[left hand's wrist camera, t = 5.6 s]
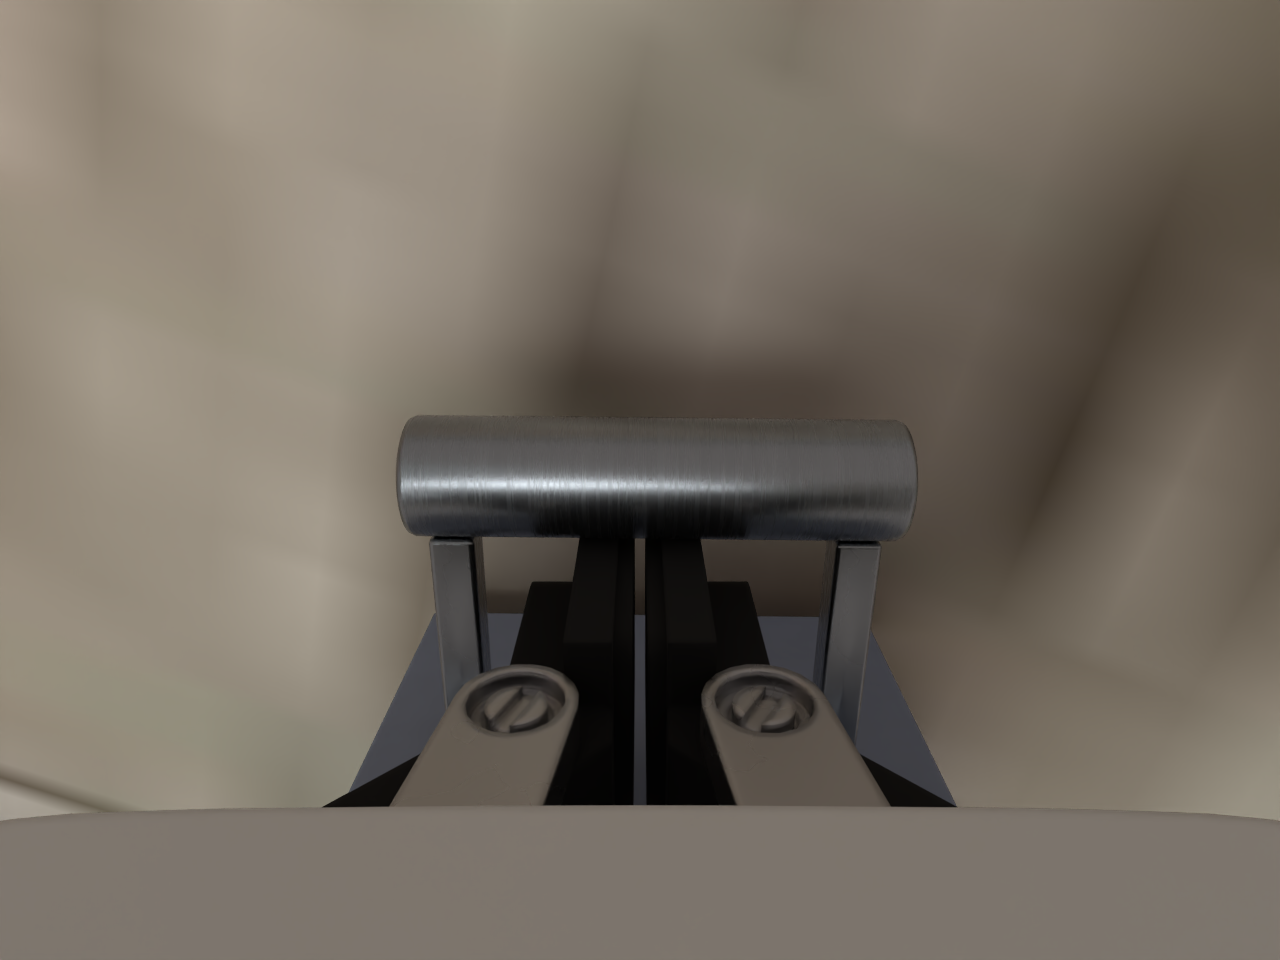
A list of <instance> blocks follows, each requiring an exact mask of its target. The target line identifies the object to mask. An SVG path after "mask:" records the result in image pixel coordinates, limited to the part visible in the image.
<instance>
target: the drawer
mask: <svg viewBox="0 0 1280 960" xmlns="http://www.w3.org/2000/svg"><path fill="white" fill-rule="evenodd" d="M917 491H918V467H917V457H916V452H915V447H914V443H913V439H912V436H911V434H910V431H909V430H908V428H907V427H906V425H905V424H903V423H901V422H899V421H896V420H841V419H743V418H646V417H548V416H450V415H417V416H415V417H412V418H410V419H409V420H408V421H407V423H406V425H405V427H404V429H403V432H402V435H401V439H400V443H399V447H398V453H397V462H396V492H397V501H398V507H399V511H400V515H401V519H402V522H403V524H404V526H405V528H406V530H407V531H408V532H409V533H411V534H413V535H416V536H432V537H431V539H430V542H429V548H430V558H431V569H432V579H433V589H434V600H435V610H436V613H435V614H434V616H433V618H432V620H431V622H430V624H429V626H428V628H427V630H426V632H425V634H424V636H423V638H422V641H421V643H420V645H419V647H418V649H417V651H416V653H415V655H414V657H413V659H412V661H411V663H410V666H409V668H408V670H407V672H406V674H405V676H404V678H403V680H402V682H401V684H400V686H399V688H398V691H397V693H396V695H395V697H394V699H393V701H392V703H391V705H390V707H389V709H388V711H387V713H386V716H385V718H384V720H383V722H382V724H381V726H380V728H379V730H378V732H377V734H376V736H375V738H374V741H373V743H372V745H371V747H370V749H369V751H368V753H367V755H366V757H365V759H364V761H363V763H362V766H361V768H360V770H359V772H358V774H357V776H356V778H355V780H354V782H353V784H352V786H351V788H350V791H349V792H351V791H353V790H354V789H356V788H358V787H360V786H362V785H364V784H366V783H367V782H369V781H371V780H373V779H375V778H377V777H378V776H380V775H382V774H384V773H386V772H388V771H389V770H391V769H393V768H395V767H397V766H399V765H400V764H402V763H404V762H406V761H408V760H410V759H411V758H413V757H415V756H417V755H419V754H421V752H422V750H423V749H424V747H425V745H426V744H427V742H428V740H429V738H430V737H431V735H432V733H433V732H434V730H435V728H436V727H437V725H438V723H439V722H440V720H441V718H442V717H443V715H444V713H445V712H446V710H447V708H448V707H449V705H450V703H451V701H452V700H453V698H454V696H455V695H456V694H457V692H458V691H459V690H460V689H461V688H462V687H463V685H464V684H465V683H467V682H468V681H470V680H471V679H473V678H474V677H476V676H477V675H479V674H481V673H484V672H486V671H489V670H492V669H494V668H497V667H503V666H508V665H510V663H511V659H512V655H513V651H514V647H515V643H516V640H517V636H518V632H519V628H520V624H521V620H522V617H523V614H517V613H487V600H486V586H485V571H484V557H483V543H482V537H558V538H649V539H741V540H827V544H826V554H825V564H824V573H823V583H822V593H821V603H820V612H819V617H780V616H757V617H758V621H759V625H760V628H761V632H762V636H763V640H764V644H765V648H766V651H767V655H768V659H769V663H770V665H772V666H777V667H783V668H786V669H788V670H791V671H794V672H796V673H799V674H801V675H803V676H804V677H806V678H807V679H809V680H810V681H812V682H813V683H815V684H816V685H817V687H818V688H819V689H820V690H821V691H822V692H823V694H824V695H825V696H826V698H827V700H828V701H829V703H830V705H831V707H832V708H833V710H834V712H835V713H836V715H837V717H838V718H839V720H840V722H841V723H842V725H843V727H844V728H845V730H846V732H847V733H848V735H849V737H850V739H851V740H852V742H853V744H854V745H855V747H856V749H857V750H858V752H859V754H861V755H863V756H865V757H867V758H869V759H870V760H872V761H874V762H876V763H878V764H880V765H881V766H883V767H885V768H887V769H889V770H891V771H892V772H894V773H896V774H898V775H900V776H902V777H903V778H905V779H907V780H909V781H911V782H913V783H914V784H916V785H918V786H920V787H922V788H924V789H925V790H927V791H929V792H931V793H933V794H935V795H936V796H938V797H940V798H942V799H944V800H946V801H947V802H949V803H951V804H953V805H955V806H956V804H955V802H954V800H953V798H952V796H951V794H950V792H949V790H948V788H947V786H946V783H945V781H944V779H943V777H942V775H941V773H940V771H939V769H938V767H937V765H936V763H935V761H934V759H933V757H932V755H931V753H930V751H929V749H928V747H927V744H926V742H925V740H924V738H923V736H922V734H921V732H920V730H919V728H918V726H917V724H916V722H915V720H914V718H913V716H912V714H911V712H910V710H909V707H908V705H907V703H906V701H905V699H904V697H903V695H902V693H901V691H900V689H899V687H898V685H897V683H896V681H895V679H894V677H893V675H892V673H891V671H890V668H889V666H888V664H887V662H886V660H885V658H884V656H883V654H882V652H881V650H880V648H879V646H878V644H877V642H876V640H875V638H874V636H873V634H872V632H871V625H872V617H873V609H874V602H875V594H876V586H877V579H878V571H879V563H880V556H881V548H882V547H881V544H880V543H879V541H896V540H898V539H901V538H903V537H904V536H905V535H906V533H907V532H908V530H909V528H910V525H911V523H912V519H913V516H914V511H915V507H916V501H917ZM634 805H646V728H645V615H635V719H634Z"/></svg>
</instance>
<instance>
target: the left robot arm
mask: <svg viewBox="0 0 1280 960" xmlns="http://www.w3.org/2000/svg"><path fill="white" fill-rule="evenodd" d="M634 719H635V538H580V539H579V546H578V552H577V558H576V564H575V570H574V576H573V582H532V584H531V586H530V590H529V594H528V597H527V601H526V605H525V609H524V613H523V617H522V620H521V624H520V628H519V632H518V636H517V640H516V643H515V647H514V651H513V655H512V659H511V663H510V665H508V666H503V667H497V668H494V669H492V670H489V671H486V672H484V673H481V674H479V675H477V676H476V677H474V678H473V679H471V680H470V681H468V682H467V683H465V684H464V685H463V687H462V688H461V689H460V690H459V691H458V692H457V694H456V695H455V696H454V698H453V700H452V701H451V703H450V705H449V707H448V708H447V710H446V712H445V713H444V715H443V717H442V718H441V720H440V722H439V723H438V725H437V727H436V728H435V730H434V732H433V733H432V735H431V737H430V738H429V740H428V742H427V744H426V745H425V747H424V749H423V750H422V752H421V754H419V755H417V756H415V757H413V758H411V759H410V760H408V761H406V762H404V763H402V764H400V765H399V766H397V767H395V768H393V769H391V770H389V771H388V772H386V773H384V774H382V775H380V776H378V777H377V778H375V779H373V780H371V781H369V782H367V783H366V784H364V785H362V786H360V787H358V788H356V789H354V790H353V791H351V792H349V793H347V794H345V795H343V796H342V797H340V798H338V799H336V800H334V801H332V802H331V803H329V804H327V805H325V806H323V807H321V808H238V809H188V810H160V811H132V812H104V813H75V814H62V815H52V816H41V817H31V818H20V819H10V820H3V821H0V960H1280V821H1277V820H1270V819H1260V818H1249V817H1239V816H1228V815H1218V814H1205V813H1180V812H1151V811H1121V810H1091V809H1047V808H960V807H957V806H955V805H953V804H951V803H949V802H947V801H946V800H944V799H942V798H940V797H938V796H936V795H935V794H933V793H931V792H929V791H927V790H925V789H924V788H922V787H920V786H918V785H916V784H914V783H913V782H911V781H909V780H907V779H905V778H903V777H902V776H900V775H898V774H896V773H894V772H892V771H891V770H889V769H887V768H885V767H883V766H881V765H880V764H878V763H876V762H874V761H872V760H870V759H869V758H867V757H865V756H863V755H861V754H859V752H858V750H857V749H856V747H855V745H854V744H853V742H852V740H851V739H850V737H849V735H848V733H847V732H846V730H845V728H844V727H843V725H842V723H841V722H840V720H839V718H838V717H837V715H836V713H835V712H834V710H833V708H832V707H831V705H830V703H829V701H828V700H827V698H826V696H825V695H824V694H823V692H822V691H821V690H820V689H819V688H818V687H817V685H816V684H815V683H813V682H812V681H810V680H809V679H807V678H806V677H804V676H803V675H801V674H799V673H796V672H794V671H791V670H788V669H786V668H783V667H777V666H772V665H770V663H769V659H768V655H767V651H766V648H765V644H764V640H763V636H762V632H761V628H760V625H759V621H758V617H757V613H756V609H755V606H754V602H753V598H752V594H751V590H750V586H749V584H748V582H707V577H706V571H705V565H704V559H703V552H702V546H701V540H700V539H649V538H645V728H646V805H634Z"/></svg>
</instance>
